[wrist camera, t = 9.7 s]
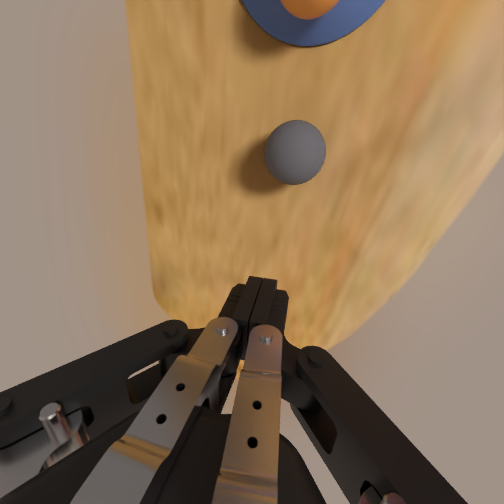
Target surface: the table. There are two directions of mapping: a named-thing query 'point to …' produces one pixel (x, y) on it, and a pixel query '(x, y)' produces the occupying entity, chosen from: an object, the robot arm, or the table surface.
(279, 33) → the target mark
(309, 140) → the gray ball
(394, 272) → the table surface
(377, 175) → the table surface
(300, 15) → the object ball
